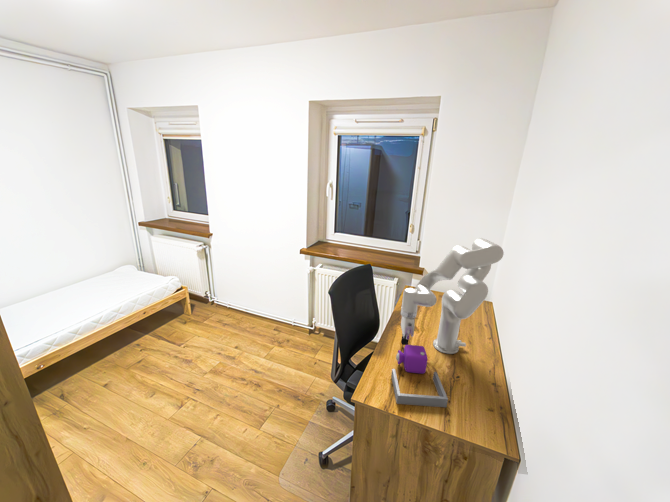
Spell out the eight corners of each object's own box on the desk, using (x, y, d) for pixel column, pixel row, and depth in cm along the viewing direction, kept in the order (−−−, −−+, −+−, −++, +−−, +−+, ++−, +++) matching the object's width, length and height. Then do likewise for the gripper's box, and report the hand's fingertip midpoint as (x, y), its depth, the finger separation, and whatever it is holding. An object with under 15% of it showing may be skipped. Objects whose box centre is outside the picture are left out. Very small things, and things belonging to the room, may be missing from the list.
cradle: (435, 379, 126) (436, 371, 125) (446, 407, 111) (448, 399, 110) (391, 376, 127) (392, 368, 125) (396, 403, 112) (397, 395, 111)
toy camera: (392, 359, 138) (394, 342, 135) (420, 359, 139) (422, 341, 136) (399, 375, 127) (401, 357, 124) (428, 375, 128) (431, 356, 126)
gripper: (419, 320, 135) (414, 353, 140) (413, 305, 149) (409, 336, 154) (403, 319, 135) (399, 352, 140) (398, 304, 149) (395, 335, 155)
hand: (404, 343), depth 147 cm, fingers closed
